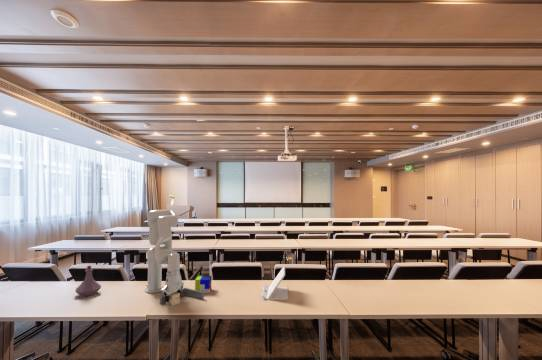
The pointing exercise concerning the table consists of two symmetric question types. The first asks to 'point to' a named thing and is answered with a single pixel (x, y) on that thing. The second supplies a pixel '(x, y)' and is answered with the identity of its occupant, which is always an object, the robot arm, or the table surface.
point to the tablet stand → (276, 288)
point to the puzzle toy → (203, 284)
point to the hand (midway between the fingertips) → (173, 299)
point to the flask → (88, 284)
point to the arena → (188, 293)
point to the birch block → (173, 298)
